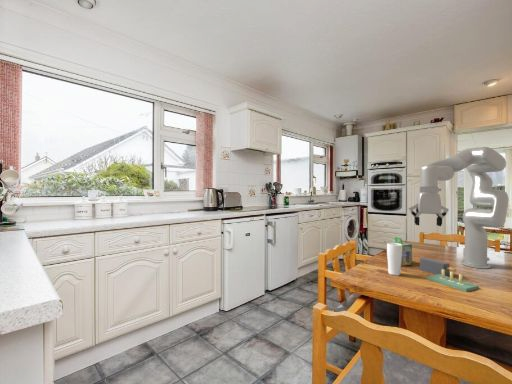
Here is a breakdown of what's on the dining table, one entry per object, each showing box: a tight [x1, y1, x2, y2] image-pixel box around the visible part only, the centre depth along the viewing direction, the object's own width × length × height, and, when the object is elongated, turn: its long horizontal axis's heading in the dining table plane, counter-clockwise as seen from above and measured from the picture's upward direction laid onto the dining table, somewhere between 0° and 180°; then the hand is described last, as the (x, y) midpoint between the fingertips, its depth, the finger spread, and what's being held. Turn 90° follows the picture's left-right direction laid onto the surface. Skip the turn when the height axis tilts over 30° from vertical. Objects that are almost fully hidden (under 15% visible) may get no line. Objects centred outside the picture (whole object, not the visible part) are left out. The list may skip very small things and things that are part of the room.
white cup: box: [386, 242, 402, 277], centre depth 129 cm, size 7×7×15 cm
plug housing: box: [419, 257, 457, 277], centre depth 130 cm, size 5×16×6 cm, turn 23°
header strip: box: [426, 269, 480, 292], centre depth 116 cm, size 9×16×5 cm, turn 23°
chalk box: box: [386, 236, 413, 267], centre depth 147 cm, size 9×9×15 cm
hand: (428, 225), depth 128 cm, fingers open, 9 cm apart
